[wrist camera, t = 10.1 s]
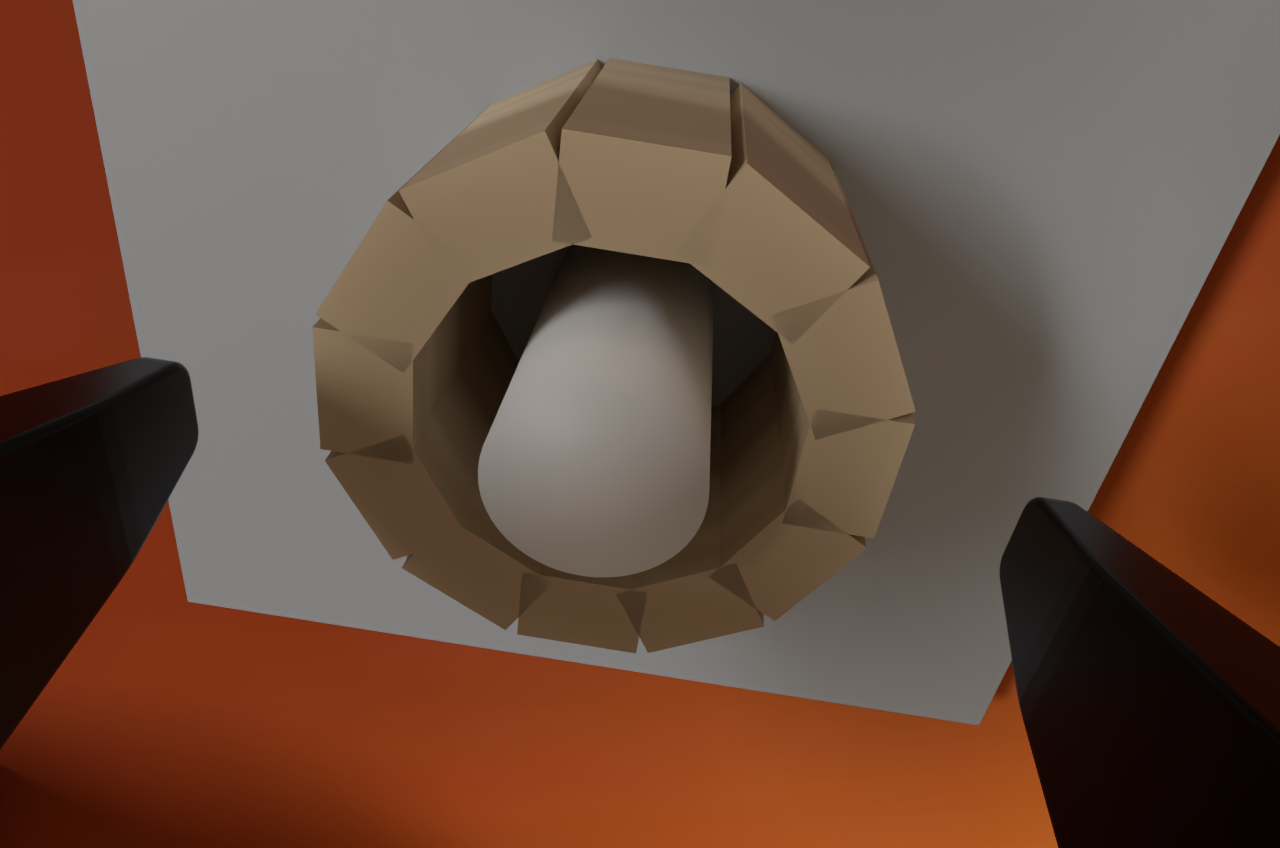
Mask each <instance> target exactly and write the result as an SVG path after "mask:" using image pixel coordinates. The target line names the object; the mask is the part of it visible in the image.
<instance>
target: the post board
mask: <svg viewBox="0 0 1280 848" xmlns="http://www.w3.org/2000/svg"><path fill="white" fill-rule="evenodd" d="M73 4H74V10H75V15H76V20H77V25H78V31H79V36H80V41H81V46H82V51H83V57H84V62H85V67H86V72H87V77H88V83H89V88H90V93H91V98H92V104H93V109H94V114H95V119H96V124H97V130H98V135H99V140H100V145H101V151H102V156H103V161H104V166H105V171H106V177H107V182H108V187H109V192H110V197H111V203H112V208H113V213H114V218H115V224H116V229H117V234H118V239H119V244H120V250H121V255H122V260H123V265H124V271H125V276H126V281H127V286H128V291H129V297H130V302H131V307H132V312H133V317H134V323H135V328H136V333H137V338H138V344H139V349H140V354H141V357H149V358H156V359H162V360H169V361H175V362H179V363H181V364H182V365H183V366H185V367H186V368H187V370H188V372H189V375H190V379H191V384H192V391H193V397H194V403H195V409H196V415H197V422H198V430H199V434H198V442H197V446H196V449H195V451H194V453H193V455H192V457H191V459H190V461H189V463H188V464H187V466H186V468H185V470H184V472H183V473H182V475H181V477H180V479H179V481H178V483H177V484H176V486H175V488H174V490H173V492H172V493H171V495H170V497H169V499H168V500H169V505H170V511H171V516H172V521H173V526H174V531H175V537H176V542H177V547H178V552H179V557H180V563H181V568H182V573H183V578H184V584H185V589H186V594H187V599H188V602H194V603H201V604H207V605H213V606H220V607H226V608H233V609H239V610H245V611H252V612H258V613H264V614H271V615H277V616H284V617H290V618H296V619H303V620H309V621H315V622H322V623H328V624H335V625H341V626H347V627H354V628H360V629H367V630H373V631H379V632H386V633H392V634H398V635H405V636H411V637H418V638H424V639H430V640H437V641H443V642H449V643H456V644H462V645H469V646H475V647H481V648H488V649H494V650H501V651H507V652H513V653H520V654H526V655H532V656H539V657H545V658H552V659H558V660H564V661H571V662H577V663H584V664H590V665H596V666H603V667H609V668H615V669H622V670H628V671H635V672H641V673H647V674H654V675H660V676H666V677H673V678H679V679H686V680H692V681H698V682H705V683H711V684H718V685H724V686H730V687H737V688H743V689H749V690H756V691H762V692H769V693H775V694H781V695H788V696H794V697H800V698H807V699H813V700H820V701H826V702H832V703H839V704H845V705H852V706H858V707H864V708H871V709H877V710H883V711H890V712H896V713H903V714H909V715H915V716H922V717H928V718H934V719H941V720H947V721H954V722H960V723H966V724H973V725H979V724H980V722H981V720H982V718H983V716H984V714H985V712H986V710H987V708H988V706H989V704H990V702H991V700H992V698H993V696H994V694H995V693H996V691H997V689H998V687H999V685H1000V683H1001V681H1002V679H1003V677H1004V675H1005V673H1006V671H1007V669H1008V667H1009V665H1010V663H1011V661H1012V658H1011V651H1010V644H1009V638H1008V631H1007V624H1006V618H1005V611H1004V604H1003V598H1002V591H1001V584H1000V576H999V570H1000V562H1001V558H1002V555H1003V553H1004V550H1005V548H1006V546H1007V544H1008V542H1009V539H1010V537H1011V535H1012V533H1013V531H1014V529H1015V526H1016V524H1017V522H1018V520H1019V518H1020V515H1021V513H1022V511H1023V509H1024V507H1025V506H1026V504H1027V503H1028V502H1029V501H1030V500H1031V499H1033V498H1036V497H1045V498H1051V499H1058V500H1064V501H1070V502H1073V503H1075V504H1077V505H1078V506H1080V507H1081V508H1083V509H1084V510H1085V511H1087V512H1088V510H1089V508H1090V506H1091V504H1092V502H1093V500H1094V498H1095V496H1096V494H1097V492H1098V490H1099V488H1100V486H1101V484H1102V482H1103V480H1104V478H1105V477H1106V475H1107V473H1108V471H1109V469H1110V467H1111V465H1112V463H1113V461H1114V459H1115V457H1116V455H1117V453H1118V451H1119V449H1120V447H1121V445H1122V443H1123V441H1124V439H1125V437H1126V435H1127V433H1128V431H1129V429H1130V427H1131V425H1132V424H1133V422H1134V420H1135V418H1136V416H1137V414H1138V412H1139V410H1140V408H1141V406H1142V404H1143V402H1144V400H1145V398H1146V396H1147V394H1148V392H1149V390H1150V388H1151V386H1152V384H1153V382H1154V380H1155V378H1156V376H1157V374H1158V372H1159V371H1160V369H1161V367H1162V365H1163V363H1164V361H1165V359H1166V357H1167V355H1168V353H1169V351H1170V349H1171V347H1172V345H1173V343H1174V341H1175V339H1176V337H1177V335H1178V333H1179V331H1180V329H1181V327H1182V325H1183V323H1184V321H1185V319H1186V317H1187V316H1188V314H1189V312H1190V310H1191V308H1192V306H1193V304H1194V302H1195V300H1196V298H1197V296H1198V294H1199V292H1200V290H1201V288H1202V286H1203V284H1204V282H1205V280H1206V278H1207V276H1208V274H1209V272H1210V270H1211V268H1212V266H1213V264H1214V263H1215V261H1216V259H1217V257H1218V255H1219V253H1220V251H1221V249H1222V247H1223V245H1224V243H1225V241H1226V239H1227V237H1228V235H1229V233H1230V231H1231V229H1232V227H1233V225H1234V223H1235V221H1236V219H1237V217H1238V215H1239V213H1240V211H1241V210H1242V208H1243V206H1244V204H1245V202H1246V200H1247V198H1248V196H1249V194H1250V192H1251V190H1252V188H1253V186H1254V184H1255V182H1256V180H1257V178H1258V176H1259V174H1260V172H1261V170H1262V168H1263V166H1264V164H1265V162H1266V160H1267V158H1268V157H1269V155H1270V153H1271V151H1272V149H1273V147H1274V145H1275V143H1276V141H1277V139H1278V137H1279V135H1280V0H73ZM609 58H613V59H619V60H625V61H631V62H637V63H643V64H650V65H656V66H662V67H668V68H674V69H680V70H686V71H693V72H699V73H705V74H711V75H717V76H723V77H729V83H730V95H731V94H732V93H733V91H734V90H735V89H736V88H737V86H738V85H739V84H740V83H741V84H743V85H744V86H745V87H746V88H747V89H748V90H749V91H751V92H752V93H753V94H754V95H755V96H756V97H757V98H759V99H760V100H761V101H762V102H763V103H764V104H765V105H767V106H768V107H769V108H770V109H771V110H772V111H773V112H775V113H776V114H777V115H778V116H779V117H780V118H781V119H783V120H784V121H785V122H786V123H787V124H788V125H789V126H791V127H792V128H793V129H794V130H795V131H796V132H797V133H799V134H800V135H801V136H802V137H803V138H804V139H805V140H807V141H808V142H809V143H810V144H811V145H812V146H813V147H815V148H816V149H817V150H818V151H819V152H820V153H821V154H823V155H824V156H825V157H826V158H827V159H828V160H829V162H830V164H831V167H832V170H835V171H836V174H837V176H838V179H839V181H840V184H841V186H842V189H843V191H844V194H845V196H846V199H847V202H848V204H849V207H850V209H851V212H852V214H853V217H854V219H855V222H856V224H857V227H858V229H859V232H860V234H861V237H862V240H863V242H864V245H865V247H866V250H867V252H868V255H869V257H870V260H871V262H872V265H873V267H874V270H875V272H876V275H877V277H878V280H879V284H880V287H881V291H882V294H883V298H884V301H885V305H886V308H887V312H888V315H889V319H890V322H891V326H892V329H893V333H894V336H895V340H896V343H897V347H898V350H899V354H900V358H901V361H902V365H903V368H904V372H905V375H906V379H907V382H908V386H909V389H910V393H911V396H912V400H913V403H914V407H915V410H916V412H913V413H911V414H912V417H913V420H914V422H915V427H914V429H913V432H912V435H911V438H910V441H909V443H908V446H907V449H906V452H905V454H904V457H903V460H902V463H901V465H900V468H899V471H898V474H897V477H896V479H895V482H894V485H893V488H892V490H891V493H890V496H889V499H888V501H887V504H886V507H885V510H884V513H883V515H882V518H881V521H880V524H879V526H878V529H877V532H876V535H875V537H874V538H868V537H865V541H866V546H867V549H865V550H864V551H863V552H861V553H860V554H859V555H858V556H856V557H855V558H854V559H853V560H851V561H850V562H849V563H848V564H846V565H845V566H844V567H843V568H841V569H840V570H839V571H838V572H836V573H835V574H834V575H833V576H831V577H830V578H829V579H828V580H826V581H825V582H824V583H823V584H821V585H820V586H819V587H818V588H816V589H815V590H814V591H813V592H811V593H810V594H809V595H808V596H806V597H805V598H804V599H803V600H801V601H800V602H799V603H798V604H796V605H795V606H794V607H793V608H791V609H790V610H789V611H788V612H786V613H785V614H784V615H782V616H781V617H780V618H779V619H777V620H776V621H774V620H772V619H771V618H769V617H768V616H766V615H765V614H763V615H764V627H760V628H756V629H751V630H747V631H743V632H738V633H734V634H729V635H725V636H721V637H716V638H712V639H708V640H703V641H699V642H695V643H690V644H686V645H682V646H677V647H673V648H669V649H664V650H660V651H656V652H651V653H648V652H647V650H646V648H645V646H644V645H643V643H642V641H641V639H640V637H639V641H638V646H637V651H636V653H630V652H623V651H617V650H611V649H605V648H599V647H592V646H586V645H580V644H574V643H567V642H561V641H555V640H549V639H543V638H536V637H530V636H524V635H518V634H517V629H518V618H519V617H518V618H517V619H516V620H515V621H514V622H513V623H512V624H511V625H510V626H509V627H508V628H507V629H506V630H504V629H503V628H501V627H499V626H498V625H496V624H494V623H493V622H491V621H489V620H488V619H486V618H484V617H482V616H481V615H479V614H477V613H476V612H474V611H472V610H471V609H469V608H467V607H466V606H464V605H462V604H461V603H459V602H457V601H456V600H454V599H452V598H451V597H449V596H447V595H446V594H444V593H442V592H441V591H439V590H437V589H436V588H434V587H432V586H431V585H429V584H427V583H426V582H424V581H422V580H421V579H419V578H417V577H416V576H414V575H412V574H411V573H409V572H407V571H406V570H404V569H402V567H403V565H404V562H405V560H406V558H407V556H405V557H401V558H398V559H394V560H392V558H391V557H390V555H389V554H388V552H387V551H386V549H385V548H384V546H383V545H382V544H381V542H380V541H379V539H378V538H377V536H376V535H375V533H374V532H373V530H372V529H371V527H370V526H369V525H368V523H367V522H366V520H365V519H364V517H363V516H362V514H361V513H360V511H359V510H358V509H357V507H356V506H355V504H354V503H353V501H352V500H351V498H350V497H349V495H348V494H347V492H346V491H345V490H344V488H343V487H342V485H341V484H340V482H339V481H338V479H337V478H336V476H335V475H334V474H333V472H332V471H331V469H330V468H329V466H328V465H327V463H326V462H325V459H326V458H327V457H328V455H329V454H330V452H331V451H329V450H323V449H320V435H319V420H318V405H317V390H316V375H315V360H314V345H313V330H312V327H313V326H314V325H315V324H316V323H317V321H318V320H319V319H320V317H318V316H317V315H315V314H316V312H317V311H318V309H319V308H320V306H321V305H322V303H323V301H324V300H325V298H326V297H327V295H328V293H329V292H330V290H331V289H332V287H333V286H334V284H335V282H336V281H337V279H338V278H339V276H340V274H341V273H342V271H343V270H344V268H345V266H346V265H347V263H348V262H349V260H350V259H351V257H352V255H353V254H354V252H355V251H356V249H357V247H358V246H359V244H360V243H361V241H362V240H363V238H364V236H365V235H366V233H367V232H368V230H369V228H370V227H371V225H372V224H373V222H374V220H375V219H376V217H377V216H378V214H379V213H380V211H381V209H382V208H383V206H384V205H385V203H386V201H387V200H388V199H389V198H390V197H391V196H392V195H394V194H395V193H396V192H397V191H398V190H399V189H400V188H401V187H402V186H403V185H404V184H405V183H406V182H408V181H409V180H410V179H411V178H412V177H413V176H414V175H415V174H416V173H417V172H418V171H419V170H421V169H422V168H423V167H424V166H425V165H426V164H427V163H428V162H429V161H430V160H431V159H432V158H434V157H435V156H436V155H437V154H438V153H439V152H440V151H441V150H442V149H443V148H444V147H445V146H446V145H448V144H449V143H450V142H451V141H452V140H453V139H454V138H455V137H456V136H457V135H458V134H459V133H461V132H462V131H463V130H464V129H465V128H466V127H467V126H468V125H469V124H470V123H471V122H472V121H473V120H475V119H476V118H477V117H478V116H479V115H480V114H481V113H482V112H484V111H485V110H486V109H487V108H488V107H489V106H490V105H492V104H495V103H497V102H499V101H502V100H504V99H506V98H509V97H511V96H513V95H516V94H518V93H520V92H523V91H525V90H527V89H530V88H532V87H534V86H537V85H539V84H541V83H544V82H546V81H548V80H551V79H553V78H555V77H558V76H560V75H562V74H565V73H567V72H569V71H572V70H574V69H576V68H579V67H581V66H583V65H586V64H588V63H590V62H593V61H595V60H597V59H598V62H599V65H600V67H601V70H602V68H603V67H604V66H605V64H606V63H607V61H608V60H609ZM491 310H492V312H493V314H494V316H495V318H496V320H497V322H498V324H499V326H500V328H501V329H502V331H503V333H504V335H505V337H506V339H507V341H508V343H509V345H510V347H511V349H512V351H513V352H514V354H515V356H516V358H517V360H518V362H519V364H518V366H517V368H516V371H515V373H514V375H513V378H512V380H511V382H510V385H509V387H508V389H507V392H506V394H505V396H504V399H503V401H502V403H501V405H500V408H499V410H498V412H497V415H496V417H495V419H494V422H493V424H492V426H491V429H490V431H489V433H488V436H487V438H486V440H485V442H484V445H483V447H482V451H481V454H480V458H479V464H478V485H479V490H480V495H481V498H482V501H483V504H484V507H485V509H486V511H487V513H488V514H489V516H490V518H491V520H492V521H493V523H494V524H495V526H496V527H497V528H498V530H499V531H500V532H501V533H502V534H503V535H504V536H505V538H506V539H507V540H508V541H509V542H511V543H512V544H513V545H514V546H515V547H516V548H517V549H519V550H520V551H522V552H523V553H525V554H526V555H527V556H529V557H531V558H533V559H534V560H536V561H538V562H540V563H542V564H544V565H546V566H549V567H551V568H553V569H556V570H560V571H563V572H566V573H570V574H575V575H580V576H587V577H620V576H627V575H631V574H636V573H640V572H643V571H646V570H649V569H651V568H654V567H656V566H658V565H660V564H662V563H664V562H666V561H667V560H669V559H670V558H672V557H674V556H675V555H676V554H677V553H679V552H680V551H681V550H682V549H683V548H684V547H685V546H686V545H687V544H688V543H689V542H690V541H691V540H692V538H693V537H694V536H695V534H696V533H697V531H698V530H699V528H700V526H701V524H702V522H703V520H704V517H705V514H706V510H707V507H708V500H709V483H710V442H711V407H713V406H716V405H720V404H721V403H722V402H723V401H724V400H725V399H726V398H727V397H728V396H729V395H730V394H731V393H732V392H733V391H734V390H735V389H736V388H737V387H738V386H739V385H740V384H741V383H742V382H743V381H744V380H745V379H746V378H747V377H748V376H749V375H750V374H751V373H752V372H753V371H754V370H755V369H756V368H757V367H758V366H759V365H760V364H761V363H762V362H763V361H764V360H765V359H766V358H767V357H768V356H769V355H770V354H771V350H772V346H773V342H774V338H775V334H776V331H775V330H774V329H772V328H771V327H770V326H769V325H767V324H766V323H765V322H764V321H762V320H761V319H760V318H758V317H757V316H756V315H755V314H753V313H752V312H751V311H750V310H748V309H747V308H746V307H744V306H743V305H742V304H741V303H739V302H738V301H737V300H736V299H734V298H733V297H732V296H730V295H729V294H728V293H727V292H725V291H724V290H723V289H722V288H720V287H719V286H718V285H716V284H715V283H714V282H713V281H711V280H710V279H709V278H708V277H706V276H705V275H704V274H702V273H701V272H700V271H699V270H697V269H696V268H695V267H694V266H692V265H691V264H690V263H684V262H678V261H672V260H666V259H660V258H653V257H647V256H641V255H635V254H629V253H623V252H616V251H610V250H604V249H598V248H592V247H586V246H579V245H573V244H572V245H570V246H567V247H564V248H562V249H559V250H556V251H554V252H551V253H548V254H545V255H543V256H540V257H537V258H535V259H532V260H529V261H527V262H524V263H521V264H518V265H516V266H513V267H510V268H508V269H505V270H502V271H500V272H497V273H494V274H493V276H492V295H491Z"/></svg>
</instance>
